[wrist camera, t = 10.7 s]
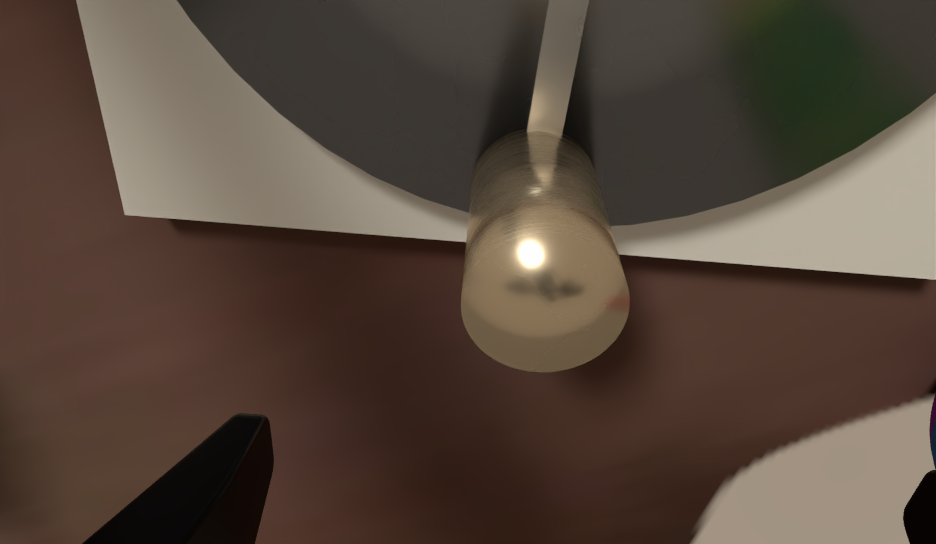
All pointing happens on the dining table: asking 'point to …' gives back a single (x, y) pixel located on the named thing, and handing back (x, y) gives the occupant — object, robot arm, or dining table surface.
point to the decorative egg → (933, 431)
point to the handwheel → (576, 122)
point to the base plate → (406, 215)
